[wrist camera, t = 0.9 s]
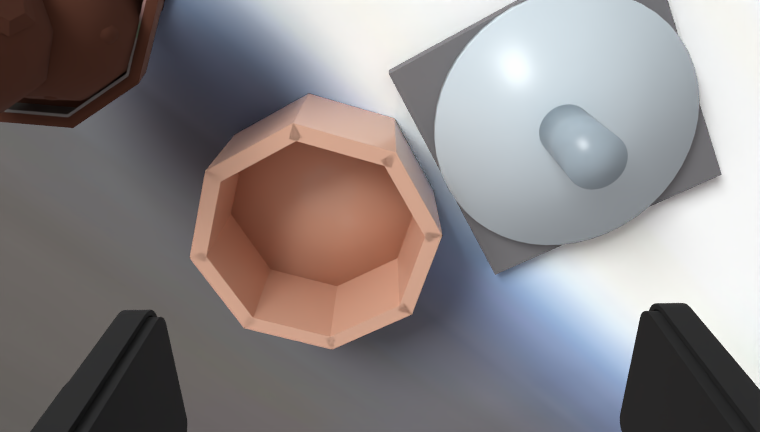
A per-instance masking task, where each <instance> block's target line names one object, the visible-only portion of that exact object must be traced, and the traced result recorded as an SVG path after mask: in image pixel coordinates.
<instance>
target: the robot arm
mask: <svg viewBox="0 0 760 432" xmlns="http://www.w3.org/2000/svg"><path fill="white" fill-rule="evenodd" d="M620 426H621V430H622V432H760V389H759V388H758V387H757V386H756V385H755V383H754V382H753V381H752V380H751V379H750V378H749V376H748V375H747V374H746V373H745V372H744V370H743V369H742V368H741V367H740V366H739V365H738V363H737V362H736V361H735V360H734V359H733V357H732V356H731V355H730V354H729V353H728V351H727V350H726V349H725V348H724V347H723V346H722V344H721V343H720V342H719V341H718V340H717V338H716V337H715V336H714V335H713V334H712V333H711V331H710V330H709V329H708V328H707V327H706V325H705V324H704V323H703V322H702V321H701V319H700V318H699V317H698V316H697V315H696V314H695V312H694V311H693V310H692V309H691V308H690V307H689V306H688V305H687V304H684V303H655V304H653V305H652V306H651V307H650V310H649V311H644V312H643V313H642V314H641V317H640V321H639V326H638V331H637V335H636V340H635V345H634V350H633V355H632V360H631V365H630V369H629V374H628V379H627V384H626V389H625V394H624V399H623V403H622V408H621V413H620ZM31 432H187V417H186V413H185V408H184V403H183V399H182V394H181V390H180V385H179V381H178V376H177V372H176V367H175V363H174V358H173V353H172V349H171V344H170V340H169V335H168V331H167V326H166V322H165V320H164V318H162V317H157V316H156V313H155V312H154V311H153V310H124V311H121V312H120V313H119V314H118V315H117V317H116V318H115V319H114V321H113V322H112V323H111V325H110V326H109V327H108V329H107V330H106V332H105V333H104V334H103V336H102V337H101V338H100V340H99V341H98V342H97V344H96V345H95V347H94V348H93V349H92V351H91V352H90V353H89V355H88V356H87V358H86V359H85V360H84V362H83V363H82V364H81V366H80V367H79V368H78V370H77V371H76V373H75V374H74V375H73V377H72V378H71V379H70V381H69V382H68V383H67V384H66V385H65V386H64V387H63V388H62V390H61V391H60V392H59V394H58V395H57V396H56V398H55V399H54V400H53V402H52V403H51V404H50V406H49V407H48V409H47V410H46V411H45V413H44V414H43V415H42V417H41V418H40V419H39V421H38V422H37V424H36V425H35V426H34V428H33V429H32V430H31Z"/></svg>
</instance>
